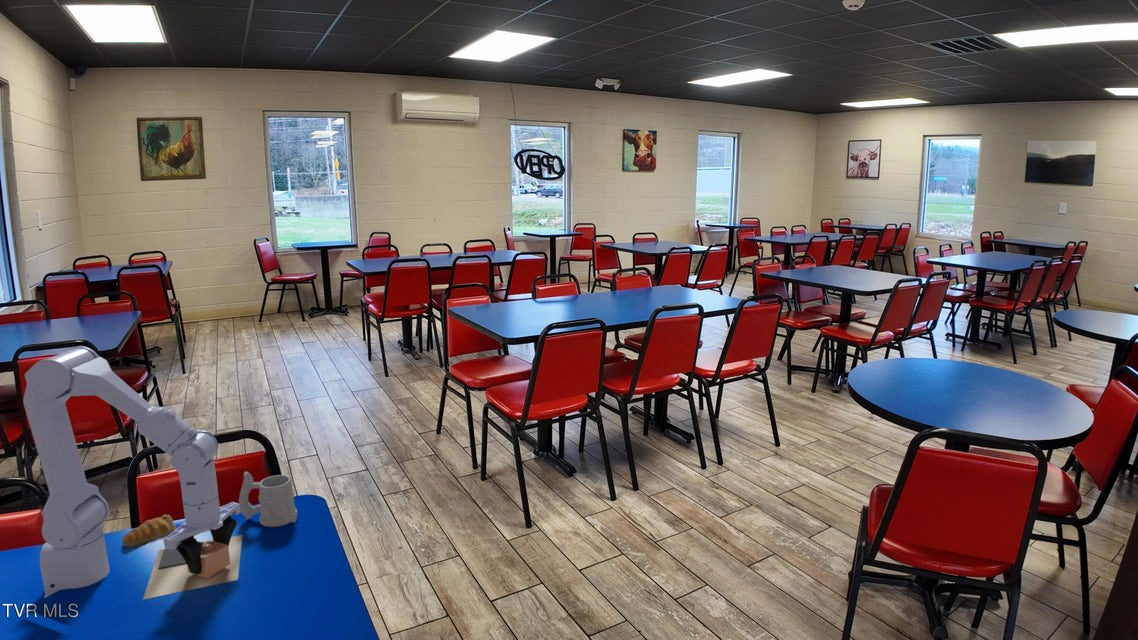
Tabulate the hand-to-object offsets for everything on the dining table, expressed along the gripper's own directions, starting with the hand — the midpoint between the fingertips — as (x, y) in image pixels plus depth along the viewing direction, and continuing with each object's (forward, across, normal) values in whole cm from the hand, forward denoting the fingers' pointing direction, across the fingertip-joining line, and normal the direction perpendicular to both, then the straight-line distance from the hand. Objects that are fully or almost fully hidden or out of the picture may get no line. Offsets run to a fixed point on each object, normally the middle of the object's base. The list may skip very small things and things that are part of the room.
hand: (208, 564), depth 124 cm
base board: (+2, +1, +4) cm, 5 cm away
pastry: (+3, +5, +23) cm, 24 cm away
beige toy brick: (+1, 0, 0) cm, 1 cm away
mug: (+3, +19, +5) cm, 20 cm away
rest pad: (+2, +2, +10) cm, 10 cm away
